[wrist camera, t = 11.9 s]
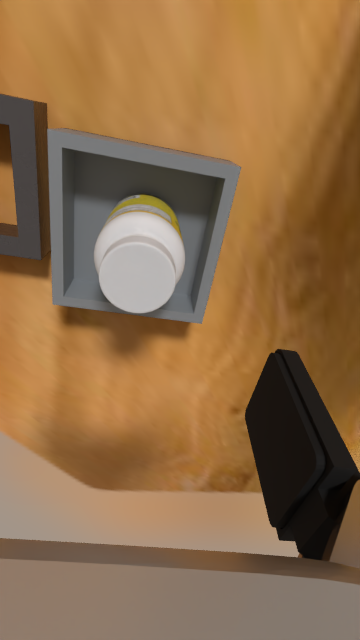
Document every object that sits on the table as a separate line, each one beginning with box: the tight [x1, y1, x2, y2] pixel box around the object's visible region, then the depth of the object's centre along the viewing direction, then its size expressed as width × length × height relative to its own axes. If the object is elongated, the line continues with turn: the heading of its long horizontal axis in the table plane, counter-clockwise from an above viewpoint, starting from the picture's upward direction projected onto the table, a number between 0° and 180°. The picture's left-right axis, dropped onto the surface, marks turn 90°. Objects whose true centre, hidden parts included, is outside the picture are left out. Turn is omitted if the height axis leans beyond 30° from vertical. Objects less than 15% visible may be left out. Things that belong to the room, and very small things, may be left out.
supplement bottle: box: [94, 193, 185, 313], centre depth 21 cm, size 5×5×10 cm
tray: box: [47, 128, 241, 324], centre depth 24 cm, size 12×12×4 cm
